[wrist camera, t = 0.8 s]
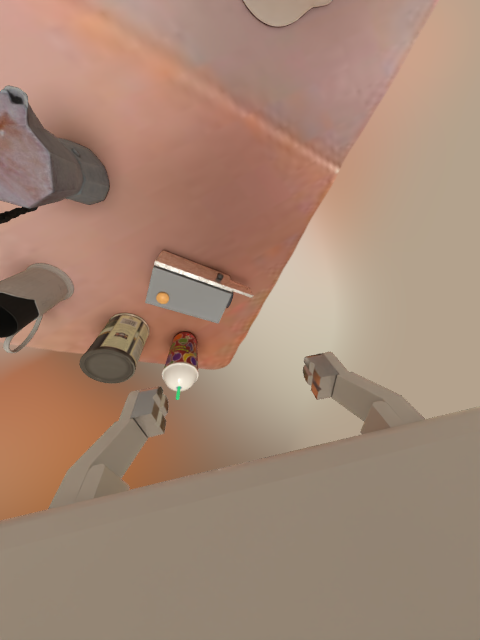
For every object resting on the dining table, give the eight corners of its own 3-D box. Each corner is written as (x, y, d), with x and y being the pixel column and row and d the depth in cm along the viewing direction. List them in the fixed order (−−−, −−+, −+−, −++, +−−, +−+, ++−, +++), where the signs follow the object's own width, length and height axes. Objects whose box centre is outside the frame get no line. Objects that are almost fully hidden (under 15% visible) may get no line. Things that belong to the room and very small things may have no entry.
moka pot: (127, 155, 33) (51, 119, 17) (97, 232, 39) (18, 261, 22) (62, 104, 29) (-123, -10, 13) (39, 199, 35) (-110, 204, 18)
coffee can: (115, 344, 54) (90, 385, 43) (102, 313, 49) (70, 351, 37) (153, 342, 56) (139, 381, 44) (145, 311, 50) (127, 347, 39)
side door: (164, 245, 42) (156, 255, 35) (248, 279, 49) (255, 292, 42) (162, 253, 42) (154, 264, 36) (245, 285, 50) (252, 299, 43)
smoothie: (187, 323, 54) (180, 380, 37) (205, 341, 58) (205, 399, 42) (164, 336, 55) (147, 397, 39) (183, 353, 60) (174, 414, 43)
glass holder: (72, 270, 42) (17, 302, 30) (76, 322, 49) (33, 365, 36) (21, 257, 39) (-63, 287, 27) (33, 314, 46) (-30, 359, 34)
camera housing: (162, 254, 43) (152, 268, 35) (232, 280, 49) (237, 297, 41) (154, 285, 47) (144, 304, 39) (220, 306, 53) (223, 326, 44)
